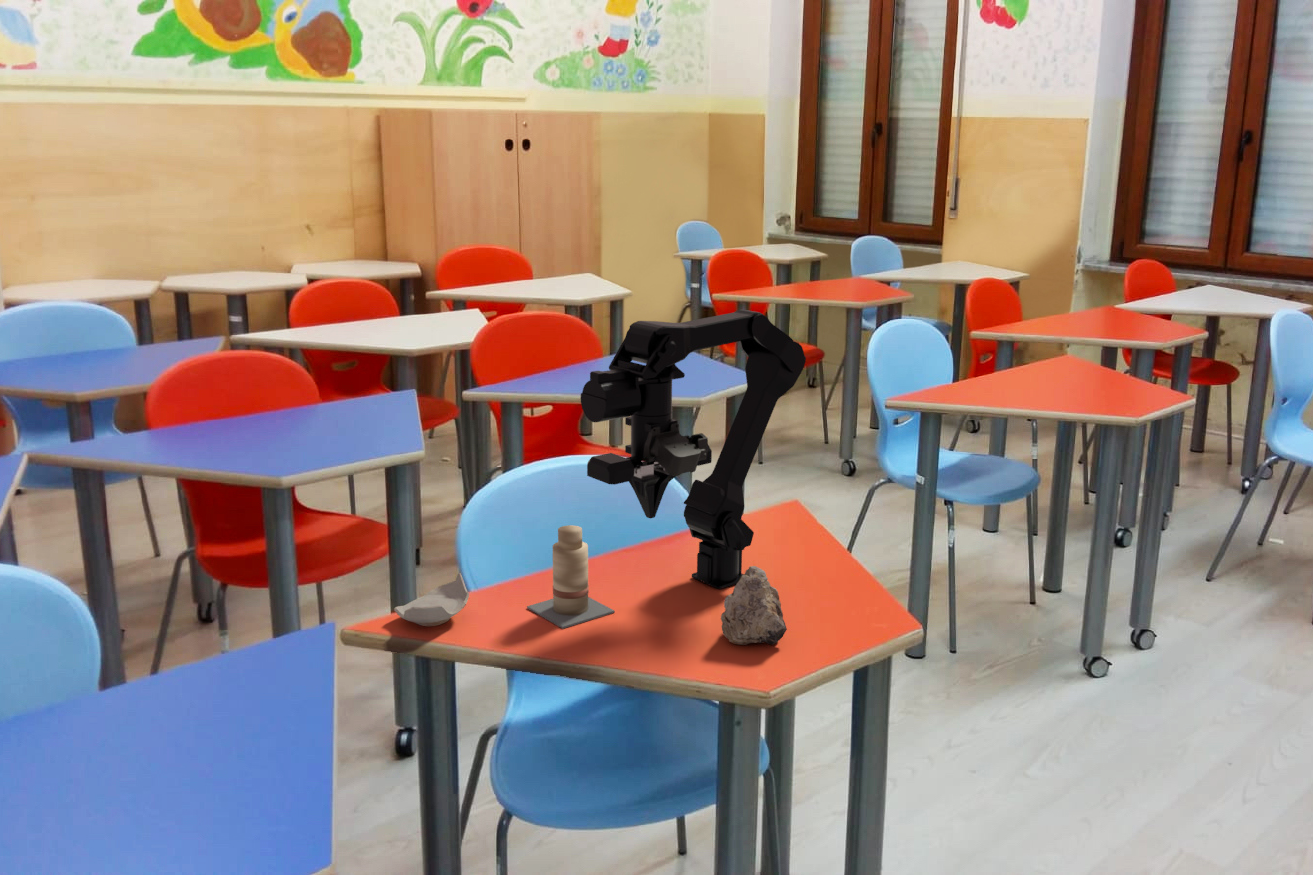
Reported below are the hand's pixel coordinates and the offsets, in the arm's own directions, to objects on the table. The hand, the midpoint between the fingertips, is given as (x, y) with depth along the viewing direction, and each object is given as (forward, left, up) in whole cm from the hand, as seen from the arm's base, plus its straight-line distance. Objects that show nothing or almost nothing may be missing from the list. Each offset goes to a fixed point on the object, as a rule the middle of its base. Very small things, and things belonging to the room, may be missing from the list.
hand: (650, 517), depth 160 cm
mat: (+11, -5, -13) cm, 18 cm away
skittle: (+11, -5, -13) cm, 17 cm away
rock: (-3, +18, -13) cm, 22 cm away
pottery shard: (+28, -14, -13) cm, 34 cm away
